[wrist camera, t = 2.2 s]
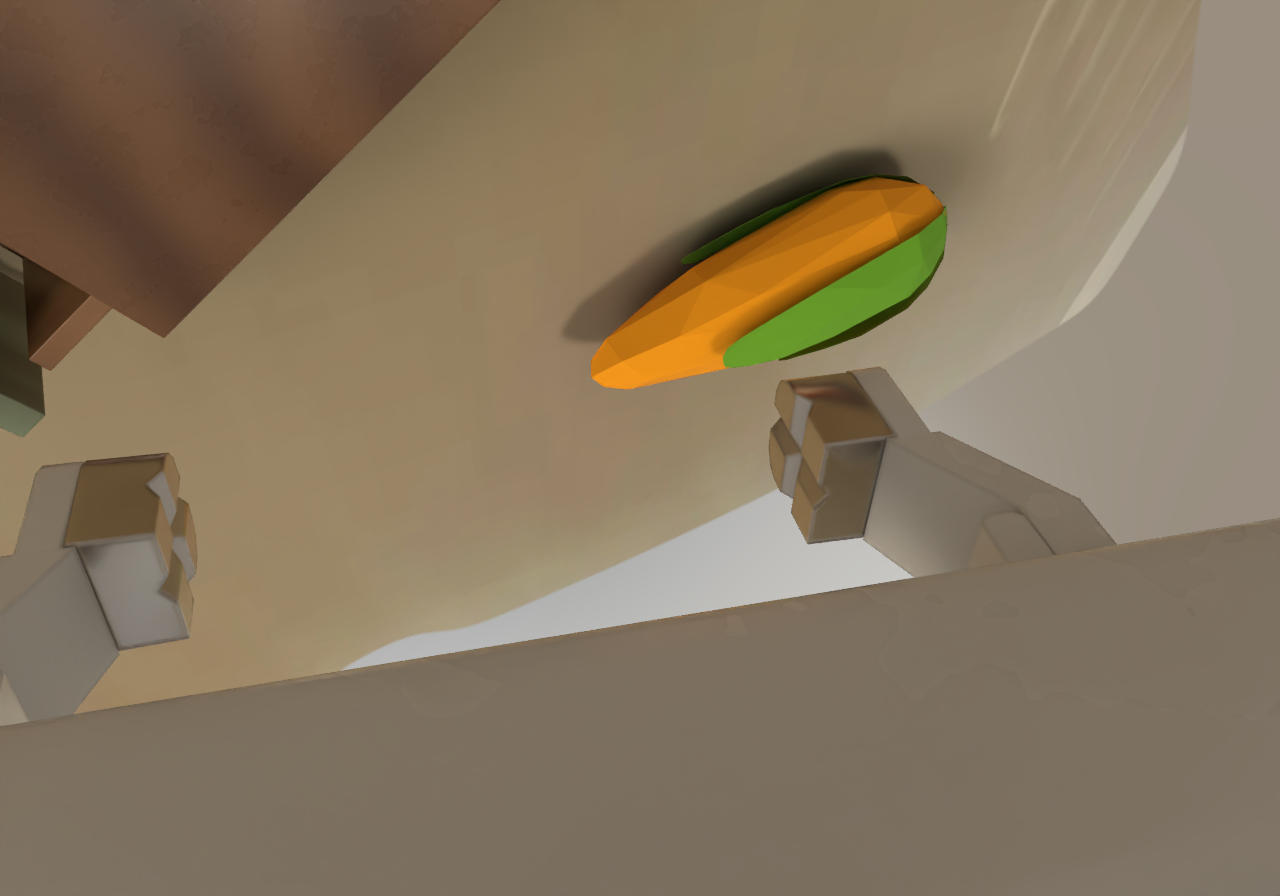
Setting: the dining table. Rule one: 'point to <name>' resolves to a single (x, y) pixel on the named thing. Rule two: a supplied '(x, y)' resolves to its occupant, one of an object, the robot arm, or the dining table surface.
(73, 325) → the drawer
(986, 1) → the dining table surface
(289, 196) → the cabinet
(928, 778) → the robot arm
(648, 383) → the corn
